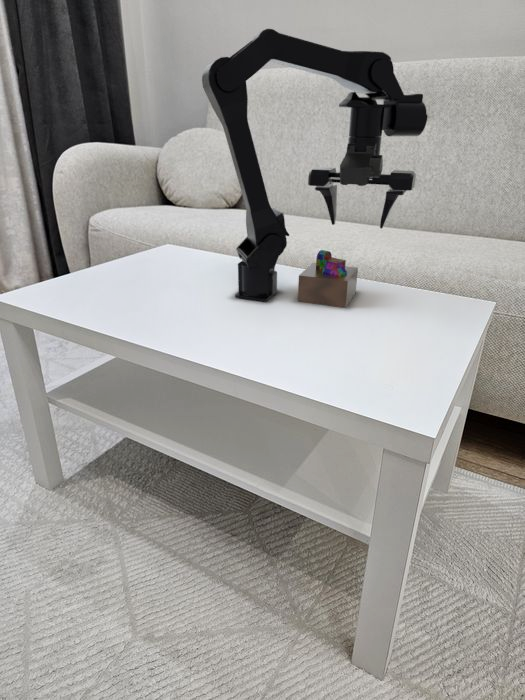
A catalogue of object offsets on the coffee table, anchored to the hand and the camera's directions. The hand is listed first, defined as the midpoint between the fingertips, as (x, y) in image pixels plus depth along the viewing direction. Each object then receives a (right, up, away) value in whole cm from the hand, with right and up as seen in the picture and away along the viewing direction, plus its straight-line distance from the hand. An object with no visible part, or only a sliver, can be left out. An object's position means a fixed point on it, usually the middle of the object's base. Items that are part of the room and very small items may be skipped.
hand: (357, 226), depth 91 cm
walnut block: (-6, -14, 0) cm, 15 cm away
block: (-5, -9, -3) cm, 11 cm away
